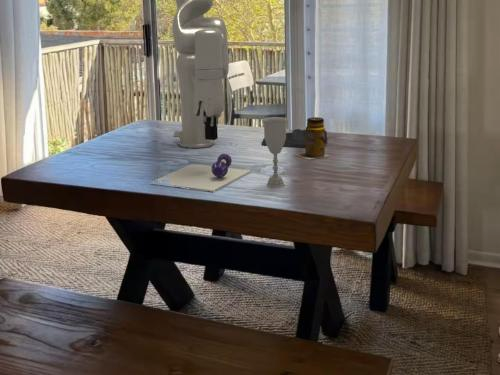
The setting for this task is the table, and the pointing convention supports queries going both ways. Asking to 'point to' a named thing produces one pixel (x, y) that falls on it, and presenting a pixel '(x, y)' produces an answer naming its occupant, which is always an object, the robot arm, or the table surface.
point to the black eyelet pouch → (295, 139)
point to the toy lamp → (221, 165)
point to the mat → (203, 177)
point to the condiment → (314, 139)
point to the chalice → (275, 144)
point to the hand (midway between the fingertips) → (211, 139)
